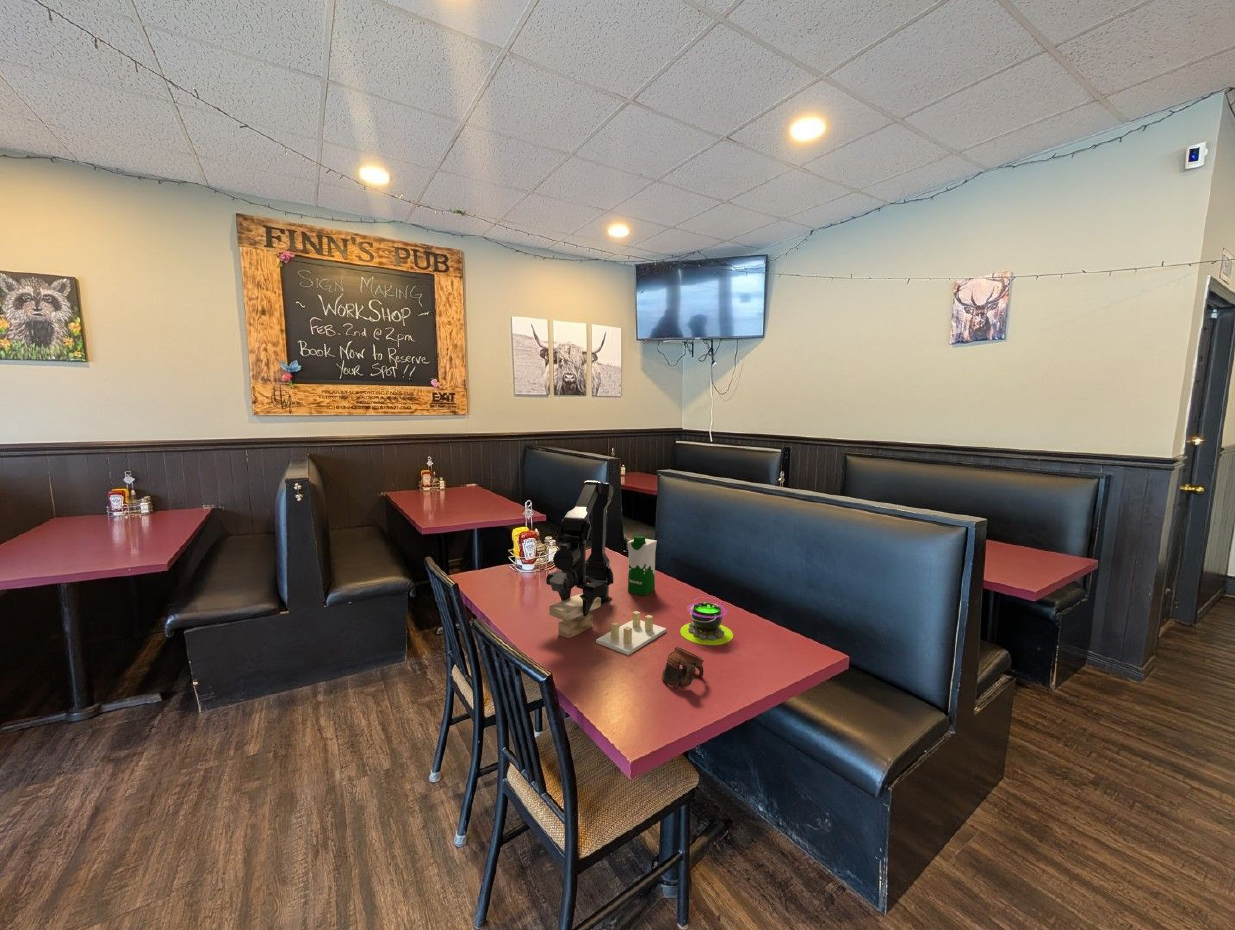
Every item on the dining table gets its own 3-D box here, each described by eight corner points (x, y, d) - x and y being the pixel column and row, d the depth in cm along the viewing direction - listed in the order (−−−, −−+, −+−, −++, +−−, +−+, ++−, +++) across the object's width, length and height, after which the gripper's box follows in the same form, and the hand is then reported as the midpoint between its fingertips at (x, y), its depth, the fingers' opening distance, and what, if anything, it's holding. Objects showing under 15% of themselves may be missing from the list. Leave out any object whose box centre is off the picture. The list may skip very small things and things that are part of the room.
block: (582, 623, 150) (582, 611, 150) (592, 626, 148) (592, 615, 148) (558, 634, 143) (558, 622, 142) (568, 638, 140) (568, 626, 140)
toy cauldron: (670, 626, 149) (671, 590, 148) (714, 619, 154) (715, 584, 153) (697, 649, 135) (698, 609, 134) (744, 640, 140) (745, 602, 139)
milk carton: (624, 592, 176) (624, 536, 174) (637, 584, 183) (638, 530, 181) (646, 597, 171) (647, 539, 169) (658, 589, 179) (659, 534, 177)
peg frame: (635, 621, 152) (635, 605, 151) (666, 631, 145) (666, 615, 145) (596, 642, 138) (596, 625, 137) (628, 655, 131) (628, 636, 130)
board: (583, 600, 152) (583, 592, 152) (600, 606, 148) (600, 597, 147) (549, 614, 141) (549, 606, 141) (567, 621, 137) (567, 612, 137)
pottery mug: (654, 674, 123) (666, 641, 125) (687, 689, 124) (699, 656, 126) (670, 688, 111) (683, 651, 113) (707, 704, 113) (720, 667, 114)
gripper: (531, 559, 142) (532, 613, 144) (580, 573, 131) (580, 631, 133) (559, 551, 151) (560, 601, 153) (608, 563, 139) (607, 617, 141)
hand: (575, 612), depth 145 cm, fingers closed on board, 7 cm apart
